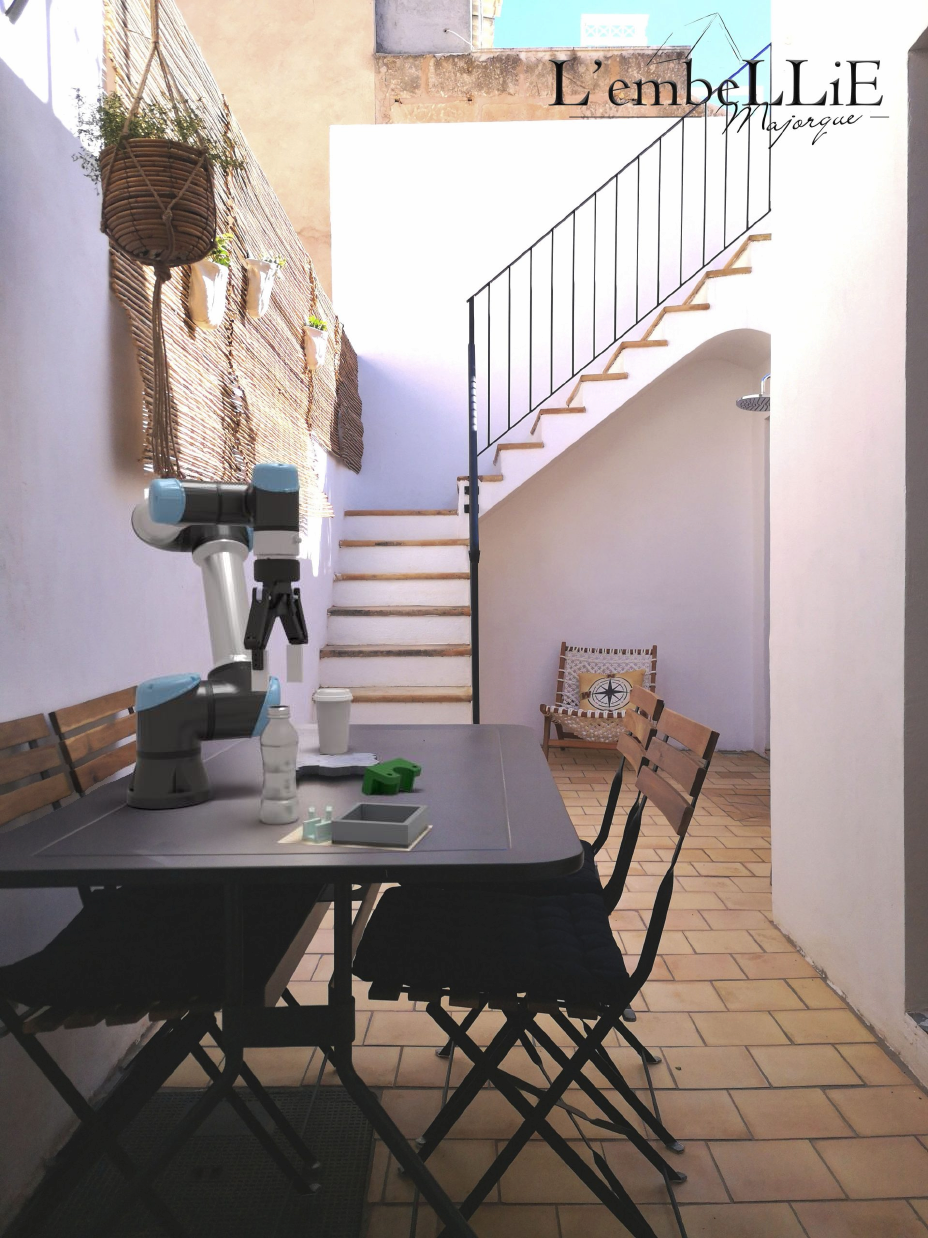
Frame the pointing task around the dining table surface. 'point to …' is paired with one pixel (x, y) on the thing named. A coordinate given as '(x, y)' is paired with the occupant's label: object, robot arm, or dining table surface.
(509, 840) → the dining table surface
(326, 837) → the clip
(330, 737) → the coffee cup
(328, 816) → the clip
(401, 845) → the holder
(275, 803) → the plastic bottle
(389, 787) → the clamp
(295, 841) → the board
